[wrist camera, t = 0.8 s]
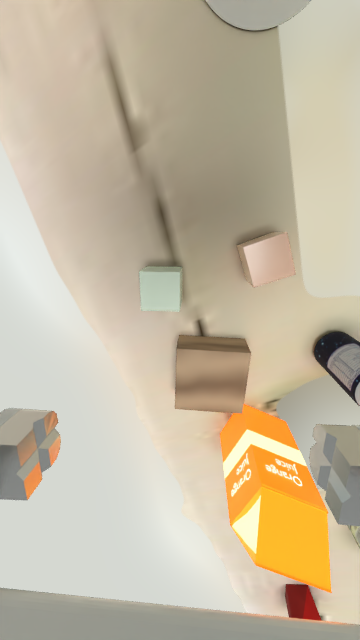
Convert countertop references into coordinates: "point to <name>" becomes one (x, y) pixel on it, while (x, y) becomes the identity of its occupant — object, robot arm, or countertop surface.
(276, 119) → the countertop surface
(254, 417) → the orange juice
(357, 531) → the coffee can
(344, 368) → the beverage can
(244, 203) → the countertop surface
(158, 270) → the sage cube
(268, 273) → the terracotta cube
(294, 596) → the french fries
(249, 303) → the countertop surface
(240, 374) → the walnut block
